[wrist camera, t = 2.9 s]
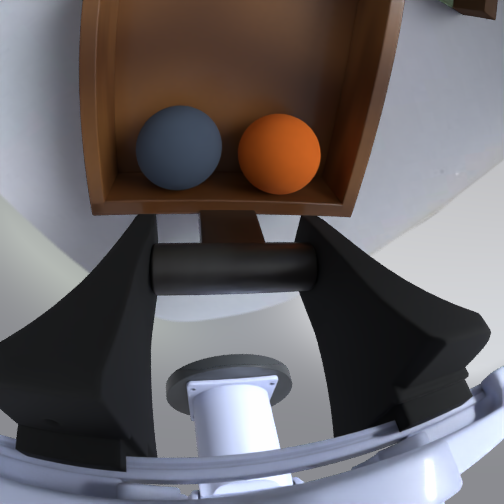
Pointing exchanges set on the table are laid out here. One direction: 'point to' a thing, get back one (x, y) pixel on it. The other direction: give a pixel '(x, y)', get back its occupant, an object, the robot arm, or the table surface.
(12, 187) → the table surface
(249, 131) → the ball
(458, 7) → the mat
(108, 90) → the tray
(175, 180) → the ball
